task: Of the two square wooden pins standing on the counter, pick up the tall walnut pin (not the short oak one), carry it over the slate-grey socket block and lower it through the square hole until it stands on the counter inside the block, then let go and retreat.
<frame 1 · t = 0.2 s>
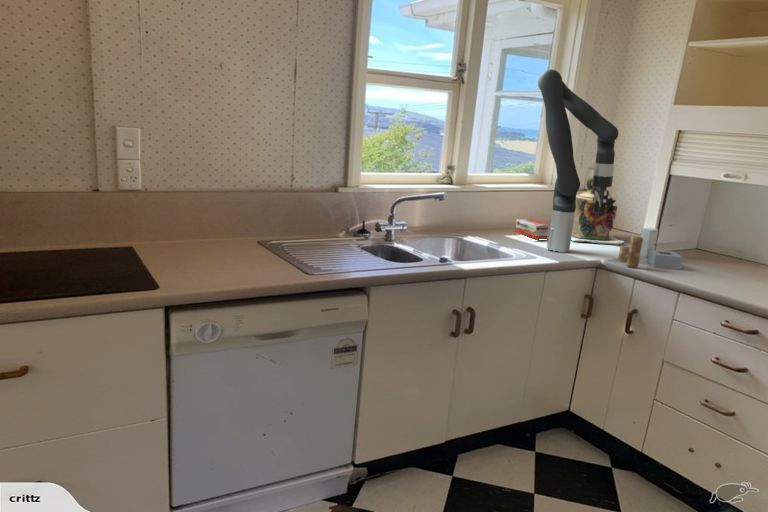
hand: (598, 213, 228), 17 cm above the worktop, tool pointing down, fingers open, 8 cm apart
skincare box: (645, 256, 235), on the worktop
cookie jar: (590, 239, 266), on the worktop
long pin: (631, 267, 214), on the worktop
short pin: (623, 260, 224), on the worktop
socket block: (663, 265, 220), on the worktop
medicine box: (530, 238, 259), on the worktop
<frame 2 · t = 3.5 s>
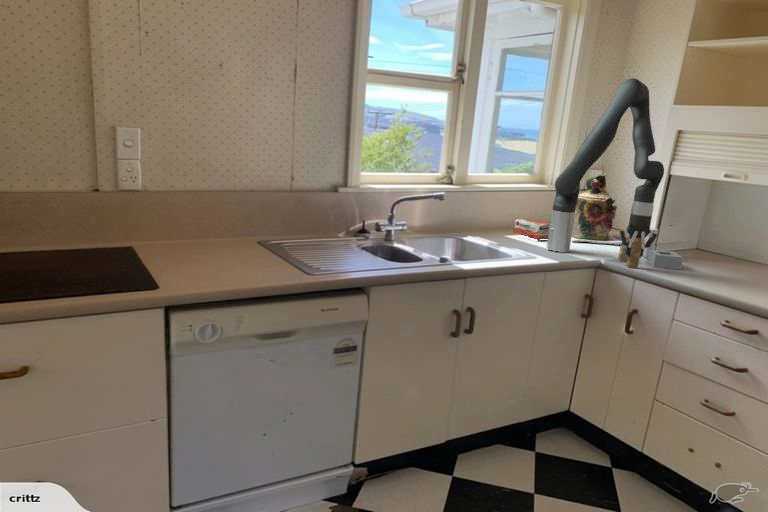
hand: (633, 256, 213), 4 cm above the worktop, tool pointing down, fingers closed on long pin, 3 cm apart
long pin: (631, 267, 214), on the worktop, touching gripper
when the fingers open (6 cm above the worktop, at t = 8.4 s): long pin drops 2 cm, resting in socket block.
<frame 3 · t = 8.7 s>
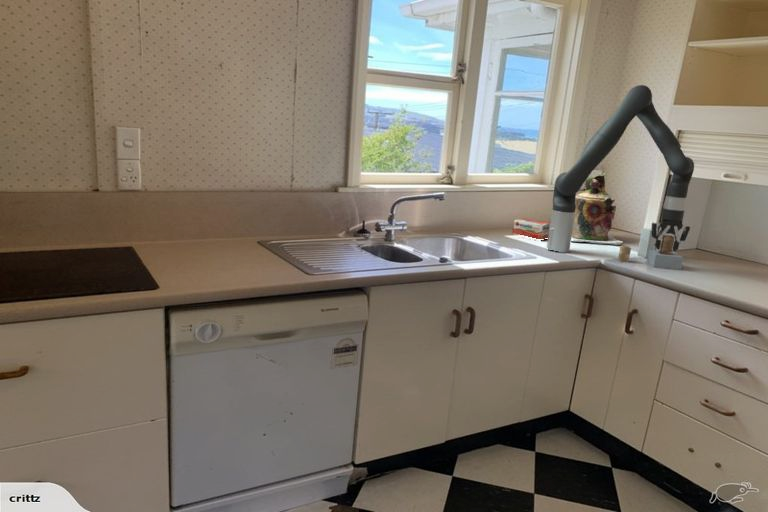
hand: (666, 249, 219), 7 cm above the worktop, tool pointing down, fingers open, 5 cm apart
long pin: (662, 265, 220), resting in socket block
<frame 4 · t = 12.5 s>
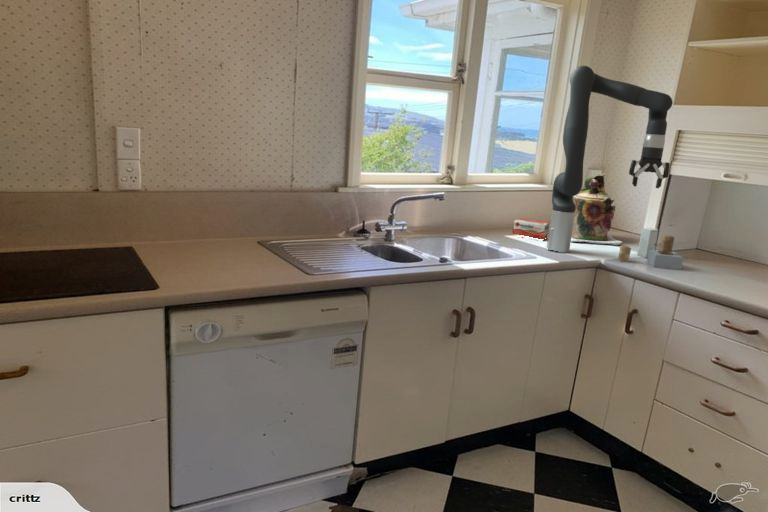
hand: (646, 187, 220), 30 cm above the worktop, tool pointing down, fingers open, 8 cm apart
at the end: long pin 0.1 cm off-centre on the socket block, point 0.0 cm above the socket block's base; long pin tilted 0°; the gripper is holding nothing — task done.
